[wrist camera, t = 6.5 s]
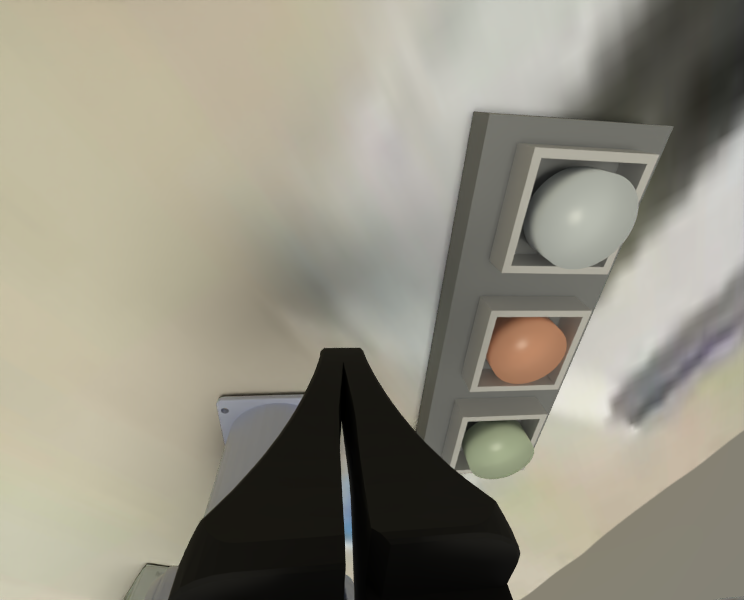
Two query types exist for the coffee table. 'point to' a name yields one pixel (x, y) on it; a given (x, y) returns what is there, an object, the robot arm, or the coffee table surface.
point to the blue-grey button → (580, 216)
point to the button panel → (516, 267)
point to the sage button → (497, 448)
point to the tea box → (145, 582)
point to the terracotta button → (525, 348)
